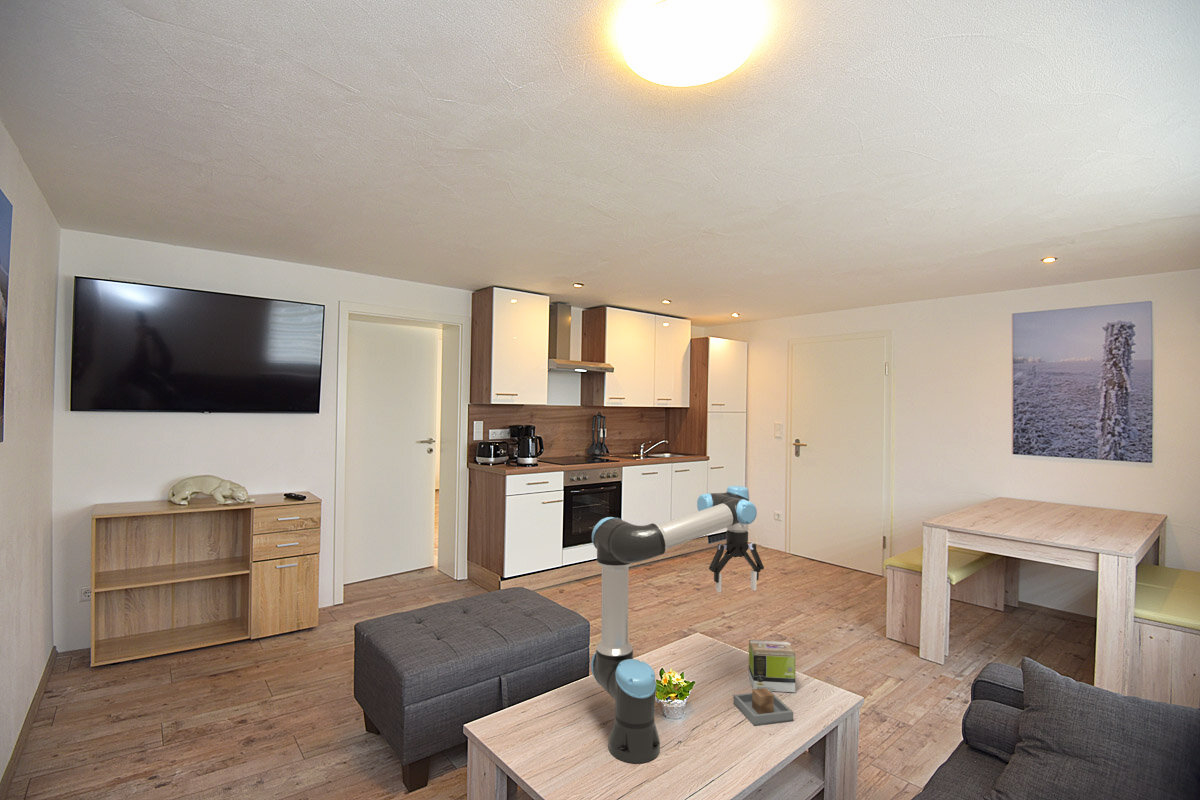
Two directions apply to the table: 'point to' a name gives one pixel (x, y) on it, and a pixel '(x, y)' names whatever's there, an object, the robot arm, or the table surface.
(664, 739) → the table surface
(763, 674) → the tea box
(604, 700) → the table surface
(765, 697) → the walnut block
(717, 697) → the table surface
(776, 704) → the tray
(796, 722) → the table surface
